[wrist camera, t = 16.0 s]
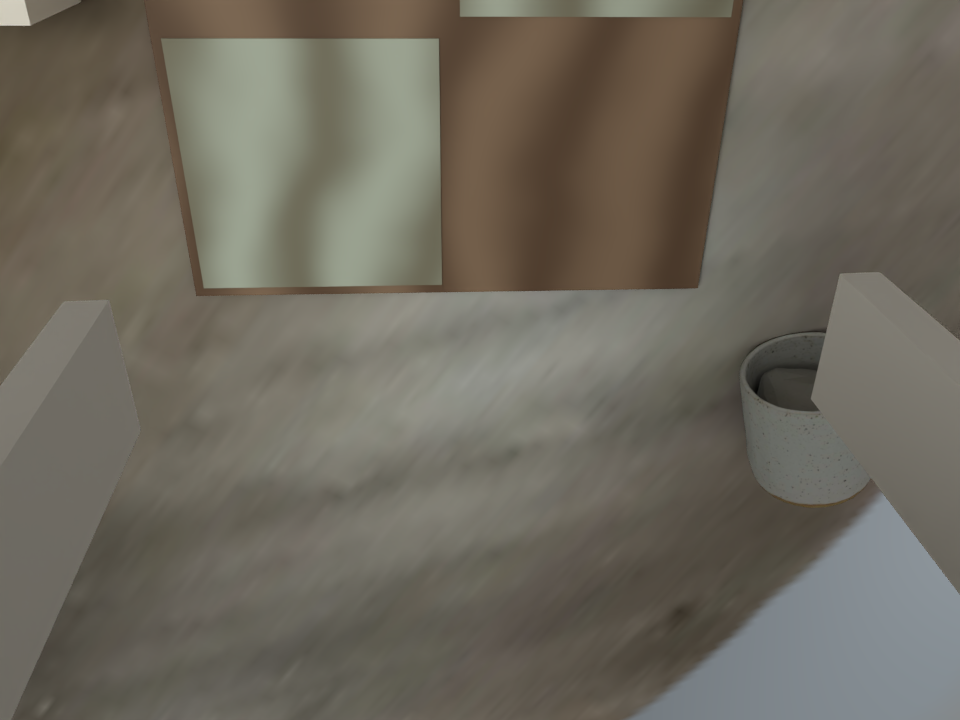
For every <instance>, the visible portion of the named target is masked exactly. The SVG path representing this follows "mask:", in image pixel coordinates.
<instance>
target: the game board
mask: <svg viewBox="0 0 960 720" xmlns="http://www.w3.org/2000/svg"><path fill="white" fill-rule="evenodd" d="M144 4H145V9H146V15H147V21H148V26H149V32H150V37H151V43H152V49H153V54H154V60H155V66H156V71H157V77H158V82H159V88H160V94H161V99H162V105H163V110H164V116H165V122H166V127H167V133H168V139H169V144H170V150H171V155H172V161H173V167H174V172H175V178H176V184H177V189H178V195H179V200H180V206H181V212H182V217H183V223H184V228H185V234H186V240H187V245H188V251H189V257H190V262H191V268H192V273H193V279H194V285H195V290H196V296H219V295H285V294H351V293H417V292H483V291H549V290H615V289H681V288H698V282H699V276H700V269H701V263H702V257H703V251H704V244H705V238H706V232H707V225H708V219H709V213H710V207H711V200H712V194H713V188H714V181H715V175H716V169H717V162H718V156H719V150H720V144H721V137H722V131H723V125H724V118H725V112H726V106H727V99H728V93H729V87H730V81H731V74H732V68H733V62H734V55H735V49H736V43H737V37H738V30H739V24H740V18H741V11H742V5H743V0H144Z"/></svg>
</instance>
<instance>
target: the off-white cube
mask: <svg viewBox="0 0 960 720" xmlns="http://www.w3.org/2000/svg"><path fill="white" fill-rule="evenodd" d="M80 2H81V0H0V26H31V25H33V24H35V23H37V22H39V21H42V20H44V19H46V18H48V17H50V16H52V15H54V14H57V13H59V12H61V11H63V10H65V9H67V8H69V7H72V6H74V5H76V4H78V3H80Z"/></svg>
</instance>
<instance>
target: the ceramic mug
mask: <svg viewBox="0 0 960 720" xmlns="http://www.w3.org/2000/svg"><path fill="white" fill-rule="evenodd" d="M825 336H826V333H822V332H808V333H796V334H790V335H785V336H781V337H777V338H775V339H771V340H769V341H767V342H765V343H763V344H761V345H759V346H758V347H756V348H755V349H754V350H753V351H751V352H750V353H749V354H748V355H747V357H746V358H745V359H744V361H743V363H742V365H741V368H740V372H739V380H740V389H741V396H742V407H743V417H744V424H745V431H746V446H747V454H748V459H749V462H750V465H751V468H752V472H753V474H754V476H755V478H756V480H757V481H758V483H759V484H760V485H761V486H762V488H763V489H764V490H765V491H767V492H768V493H769V494H771V495H772V496H773V497H775V498H777V499H779V500H781V501H783V502H786V503H789V504H793V505H797V506H802V507H808V508H815V507H828V506H833V505H837V504H841V503H843V502H845V501H847V500H850V499H852V498H854V497H855V496H856V495H857V494H858V493H860V492H861V491H862V490H863V489H864V488H865V486H866V485H867V483H868V482H869V480H870V478H871V477H870V476H869V475H868V473H867V472H866V471H865V469H864V468H863V467H862V465H861V464H860V463H859V461H858V460H857V459H856V458H855V456H854V455H853V454H852V452H851V451H850V450H849V448H848V447H847V446H846V444H845V443H844V442H843V440H842V439H841V438H840V437H839V435H838V434H837V433H836V431H835V430H834V429H833V427H832V426H831V425H830V423H829V422H828V421H827V420H826V418H825V417H824V416H823V414H822V413H821V412H820V410H819V409H818V408H817V406H816V405H815V404H814V402H813V401H812V400H811V396H812V391H813V387H814V383H815V379H816V374H817V370H818V366H819V361H820V357H821V353H822V348H823V344H824V340H825Z"/></svg>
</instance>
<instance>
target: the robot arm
mask: <svg viewBox="0 0 960 720" xmlns="http://www.w3.org/2000/svg"><path fill="white" fill-rule="evenodd" d="M811 400H812V401H813V402H814V404H815V405H816V406H817V408H818V409H819V410H820V412H821V413H822V414H823V416H824V417H825V418H826V420H827V421H828V422H829V423H830V425H831V426H832V427H833V429H834V430H835V431H836V433H837V434H838V435H839V437H840V438H841V439H842V440H843V442H844V443H845V444H846V446H847V447H848V448H849V450H850V451H851V452H852V454H853V455H854V456H855V458H856V459H857V460H858V461H859V463H860V464H861V465H862V467H863V468H864V469H865V471H866V472H867V473H868V475H869V476H870V477H871V479H872V480H873V481H874V482H875V484H876V485H877V486H878V488H879V489H880V490H881V492H882V493H883V494H884V496H885V497H886V498H887V500H888V501H889V502H890V503H891V505H892V506H893V507H894V509H895V510H896V511H897V513H898V514H899V515H900V516H901V518H902V519H903V520H904V522H905V523H906V524H907V526H908V527H909V528H910V530H911V531H912V532H913V534H914V535H915V536H916V537H917V539H918V540H919V541H920V543H921V544H922V545H923V546H924V548H925V549H926V551H927V552H928V553H929V555H930V556H931V557H932V559H933V560H934V561H935V562H936V564H937V565H938V566H939V568H940V569H941V570H942V572H943V573H944V574H945V576H946V577H947V578H948V580H949V581H950V582H951V583H952V585H953V586H954V587H955V588H956V590H957V591H958V593H959V594H960V340H958V339H957V338H956V337H955V336H954V335H953V334H951V333H950V332H949V331H948V330H947V329H946V328H944V327H943V326H942V325H941V324H940V323H939V322H937V321H936V320H935V319H934V318H933V317H932V316H930V315H929V314H928V313H927V312H926V311H925V310H924V309H922V308H921V307H920V306H919V305H918V304H917V303H915V302H914V301H913V300H912V299H911V298H910V297H908V296H907V295H906V294H905V293H904V292H903V291H901V290H900V289H899V288H898V287H897V286H896V285H894V284H893V283H892V282H891V281H890V280H889V279H887V278H886V277H885V276H884V275H883V274H882V273H881V272H866V273H840V275H839V280H838V284H837V288H836V293H835V297H834V301H833V305H832V310H831V314H830V318H829V323H828V327H827V331H826V336H825V340H824V344H823V348H822V353H821V357H820V361H819V366H818V370H817V374H816V379H815V383H814V387H813V391H812V396H811ZM140 431H141V428H140V424H139V420H138V416H137V412H136V408H135V404H134V400H133V395H132V391H131V387H130V383H129V379H128V375H127V371H126V367H125V363H124V359H123V355H122V350H121V346H120V342H119V338H118V334H117V330H116V326H115V322H114V318H113V314H112V310H111V305H110V301H109V300H90V301H64V302H63V303H62V304H61V306H60V307H59V308H58V310H57V311H56V312H55V314H54V315H53V316H52V318H51V319H50V320H49V322H48V323H47V324H46V326H45V327H44V328H43V330H42V331H41V332H40V334H39V335H38V336H37V338H36V339H35V340H34V342H33V343H32V344H31V346H30V347H29V348H28V350H27V351H26V352H25V354H24V355H23V356H22V358H21V359H20V360H19V361H18V363H17V364H16V365H15V367H14V368H13V369H12V371H11V372H10V373H9V375H8V376H7V377H6V379H5V380H4V381H3V383H2V384H1V385H0V720H11V719H12V717H13V715H14V713H15V710H16V708H17V706H18V704H19V701H20V699H21V697H22V695H23V692H24V690H25V688H26V686H27V683H28V681H29V679H30V677H31V675H32V672H33V670H34V668H35V666H36V663H37V661H38V659H39V657H40V654H41V652H42V650H43V648H44V646H45V643H46V641H47V639H48V637H49V634H50V632H51V630H52V628H53V625H54V623H55V621H56V619H57V617H58V614H59V612H60V610H61V608H62V605H63V603H64V601H65V599H66V596H67V594H68V592H69V590H70V588H71V585H72V583H73V581H74V579H75V576H76V574H77V572H78V570H79V567H80V565H81V563H82V561H83V558H84V556H85V554H86V552H87V550H88V547H89V545H90V543H91V541H92V538H93V536H94V534H95V532H96V529H97V527H98V525H99V523H100V521H101V518H102V516H103V514H104V512H105V509H106V507H107V505H108V503H109V500H110V498H111V496H112V494H113V492H114V489H115V487H116V485H117V483H118V480H119V478H120V476H121V474H122V471H123V469H124V467H125V465H126V463H127V460H128V458H129V456H130V454H131V451H132V449H133V447H134V445H135V442H136V440H137V438H138V436H139V433H140Z"/></svg>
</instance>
